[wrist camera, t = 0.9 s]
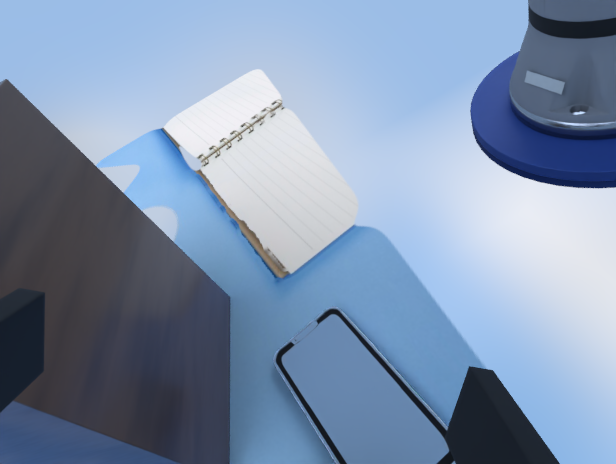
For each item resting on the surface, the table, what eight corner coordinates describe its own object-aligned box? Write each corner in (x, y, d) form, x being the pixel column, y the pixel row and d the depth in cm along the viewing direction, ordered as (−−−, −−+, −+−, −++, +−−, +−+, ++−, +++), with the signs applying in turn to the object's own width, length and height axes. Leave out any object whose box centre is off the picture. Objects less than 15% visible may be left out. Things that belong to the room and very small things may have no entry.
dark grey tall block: (230, 297, 42) (6, 78, 24) (229, 481, 30) (-209, 317, 13) (90, 350, 46) (-196, 192, 28) (39, 534, 34) (-517, 465, 16)
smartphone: (380, 537, 24) (268, 357, 35) (384, 538, 25) (273, 361, 35) (470, 450, 25) (334, 301, 36) (472, 453, 26) (337, 305, 36)
